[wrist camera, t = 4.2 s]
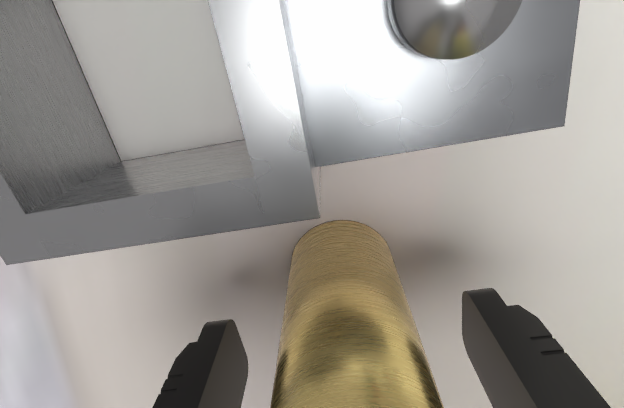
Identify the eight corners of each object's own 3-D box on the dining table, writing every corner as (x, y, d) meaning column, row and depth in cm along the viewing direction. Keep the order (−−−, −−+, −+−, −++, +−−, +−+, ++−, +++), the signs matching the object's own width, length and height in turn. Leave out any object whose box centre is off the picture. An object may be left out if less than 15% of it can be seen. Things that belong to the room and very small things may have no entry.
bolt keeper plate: (529, -217, 7) (731, -477, 4) (509, 131, 11) (607, 174, 7) (-217, -22, 9) (-562, -68, 6) (-47, 224, 12) (-198, 295, 9)
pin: (387, 213, 12) (605, 751, 3) (395, 297, 13) (553, 823, 4) (281, 228, 12) (166, 747, 3) (301, 309, 14) (263, 816, 5)
